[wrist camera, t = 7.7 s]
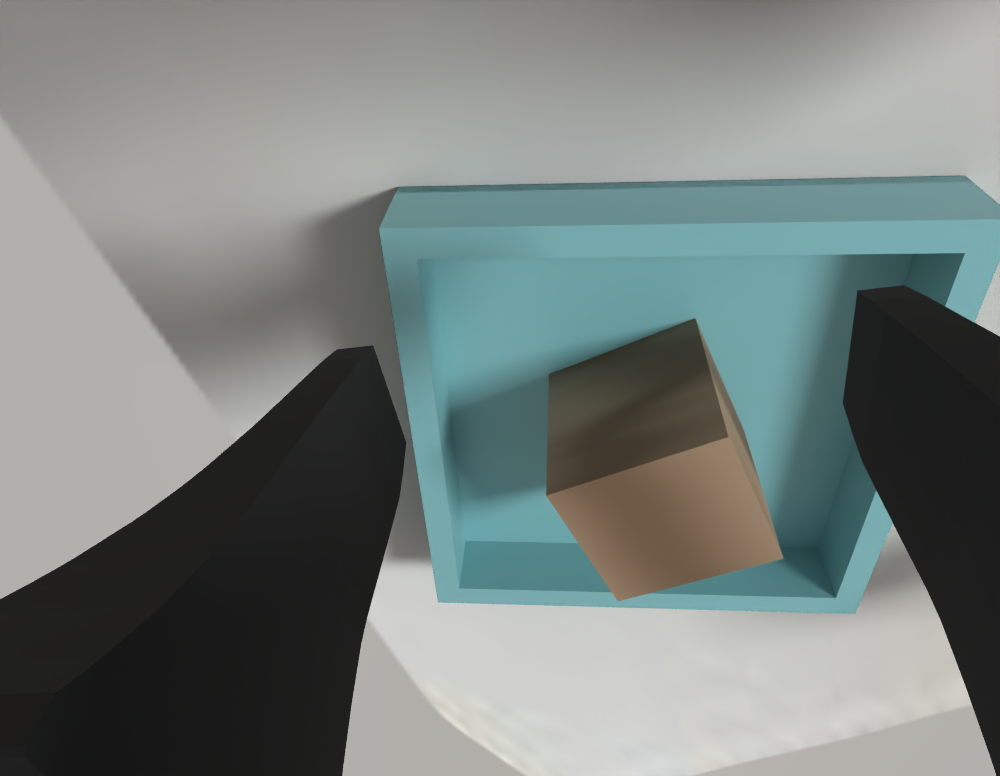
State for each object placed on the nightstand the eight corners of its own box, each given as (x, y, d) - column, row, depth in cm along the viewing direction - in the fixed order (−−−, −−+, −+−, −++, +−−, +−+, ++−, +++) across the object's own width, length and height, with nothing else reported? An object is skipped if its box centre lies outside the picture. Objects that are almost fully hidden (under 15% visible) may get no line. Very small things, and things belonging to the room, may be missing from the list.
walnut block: (695, 318, 20) (728, 437, 16) (744, 430, 22) (783, 558, 18) (549, 374, 22) (546, 495, 18) (608, 473, 24) (618, 601, 20)
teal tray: (965, 175, 18) (1016, 218, 16) (832, 554, 26) (855, 613, 24) (397, 187, 19) (378, 228, 17) (446, 546, 27) (438, 602, 25)
